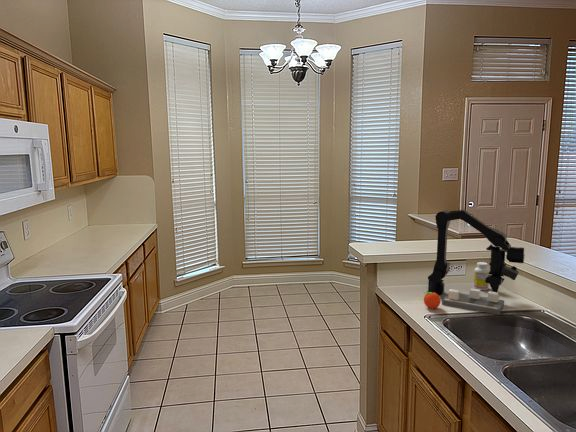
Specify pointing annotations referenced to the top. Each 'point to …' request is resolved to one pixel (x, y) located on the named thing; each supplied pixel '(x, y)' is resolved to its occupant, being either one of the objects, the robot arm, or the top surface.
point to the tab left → (454, 294)
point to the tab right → (493, 296)
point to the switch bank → (475, 304)
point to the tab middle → (474, 293)
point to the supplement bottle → (481, 276)
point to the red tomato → (431, 300)
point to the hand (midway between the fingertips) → (495, 294)
